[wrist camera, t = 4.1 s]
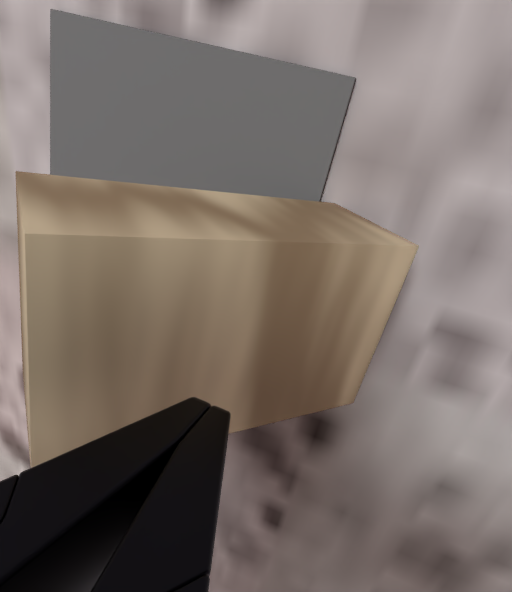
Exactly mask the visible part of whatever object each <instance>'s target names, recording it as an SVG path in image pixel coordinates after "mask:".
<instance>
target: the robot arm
mask: <svg viewBox="0 0 512 592" xmlns="http://www.w3.org/2000/svg"><path fill="white" fill-rule="evenodd" d="M230 418H231V414H230V412H229V411H227V410H225V409H222V408H220V407H218V406H215V405H214V406H211V405H210V403H208V402H206V401H204V400H201V399H199V398H197V397H190V398H188V399H186V400H184V401H181V402H179V403H177V404H174V405H172V406H170V407H168V408H165V409H163V410H161V411H159V412H156V413H154V414H152V415H150V416H147V417H145V418H143V419H141V420H138V421H136V422H134V423H132V424H129V425H127V426H125V427H123V428H120V429H118V430H116V431H114V432H111V433H109V434H107V435H104V436H102V437H100V438H98V439H95V440H93V441H91V442H89V443H86V444H84V445H82V446H80V447H77V448H75V449H73V450H71V451H68V452H66V453H64V454H62V455H59V456H57V457H55V458H53V459H50V460H48V461H46V462H43V463H41V464H39V465H37V466H34V467H32V468H30V469H28V470H25V471H23V472H21V473H20V475H19V476H18V475H14V476H11V477H9V478H7V479H5V480H2V481H0V592H208V589H209V581H210V578H209V576H210V571H211V564H212V556H213V548H214V541H215V533H216V525H217V518H218V510H219V502H220V495H221V487H222V479H223V472H224V464H225V456H226V449H227V441H228V433H229V426H230Z"/></svg>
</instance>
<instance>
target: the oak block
mask: <svg viewBox="0 0 512 592" xmlns="http://www.w3.org/2000/svg"><path fill="white" fill-rule="evenodd" d="M16 196H17V224H18V251H19V279H20V307H21V334H22V362H23V380H24V392H25V405H26V417H27V429H28V441H29V453H30V465H31V468H32V467H34V466H37V465H39V464H41V463H43V462H46V461H48V460H50V459H53V458H55V457H57V456H59V455H62V454H64V453H66V452H68V451H71V450H73V449H75V448H77V447H80V446H82V445H84V444H86V443H89V442H91V441H93V440H95V439H98V438H100V437H102V436H104V435H107V434H109V433H111V432H114V431H116V430H118V429H120V428H123V427H125V426H127V425H129V424H132V423H134V422H136V421H138V420H141V419H143V418H145V417H147V416H150V415H152V414H154V413H156V412H159V411H161V410H163V409H165V408H168V407H170V406H172V405H174V404H177V403H179V402H181V401H184V400H186V399H188V398H190V397H197V398H199V399H201V400H204V401H206V402H208V403H210V405H211V406H214V405H215V406H218V407H220V408H222V409H225V410H227V411H229V412H230V414H231V418H230V426H229V433H228V434H230V433H234V432H238V431H242V430H246V429H250V428H254V427H258V426H262V425H266V424H270V423H274V422H278V421H282V420H286V419H291V418H295V417H299V416H303V415H307V414H311V413H315V412H319V411H323V410H327V409H331V408H335V407H339V406H343V405H347V404H351V403H353V402H354V399H355V397H356V395H357V392H358V390H359V388H360V385H361V383H362V380H363V378H364V376H365V373H366V371H367V369H368V366H369V364H370V361H371V359H372V357H373V354H374V352H375V350H376V347H377V345H378V342H379V340H380V338H381V335H382V333H383V331H384V328H385V326H386V323H387V321H388V319H389V316H390V314H391V312H392V309H393V307H394V304H395V302H396V300H397V297H398V295H399V292H400V290H401V288H402V285H403V283H404V281H405V278H406V276H407V273H408V271H409V269H410V266H411V264H412V262H413V259H414V257H415V254H416V252H417V250H418V247H419V246H418V245H416V244H414V243H412V242H410V241H408V240H406V239H404V238H402V237H400V236H398V235H396V234H394V233H392V232H390V231H388V230H386V229H384V228H382V227H380V226H378V225H376V224H374V223H372V222H371V221H369V220H367V219H365V218H363V217H361V216H359V215H357V214H355V213H353V212H351V211H349V210H347V209H345V208H343V207H341V206H339V205H337V204H335V203H327V202H318V201H308V200H298V199H288V198H278V197H268V196H258V195H248V194H238V193H228V192H218V191H208V190H198V189H188V188H178V187H168V186H158V185H148V184H138V183H128V182H118V181H108V180H98V179H88V178H78V177H68V176H58V175H48V174H38V173H28V172H18V171H16Z"/></svg>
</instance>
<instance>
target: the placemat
mask: <svg viewBox="0 0 512 592" xmlns="http://www.w3.org/2000/svg"><path fill="white" fill-rule="evenodd" d="M355 80H356V78H355V77H350V76H346V75H341V74H337V73H333V72H328V71H324V70H319V69H315V68H310V67H306V66H302V65H297V64H293V63H288V62H284V61H279V60H275V59H271V58H266V57H262V56H257V55H253V54H248V53H244V52H240V51H235V50H231V49H226V48H222V47H217V46H213V45H209V44H204V43H200V42H195V41H191V40H186V39H182V38H178V37H173V36H169V35H164V34H160V33H155V32H151V31H147V30H142V29H138V28H133V27H129V26H124V25H120V24H115V23H111V22H107V21H102V20H98V19H93V18H89V17H84V16H80V15H76V14H71V13H67V12H62V11H58V10H53V9H50V175H58V176H68V177H78V178H88V179H98V180H108V181H118V182H128V183H138V184H148V185H158V186H168V187H178V188H188V189H198V190H208V191H218V192H228V193H238V194H248V195H258V196H268V197H278V198H288V199H298V200H308V201H318V202H320V200H321V196H322V193H323V190H324V186H325V183H326V179H327V176H328V172H329V169H330V166H331V162H332V159H333V155H334V152H335V149H336V145H337V142H338V138H339V135H340V132H341V128H342V125H343V121H344V118H345V114H346V111H347V108H348V104H349V101H350V97H351V94H352V91H353V87H354V84H355Z"/></svg>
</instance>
